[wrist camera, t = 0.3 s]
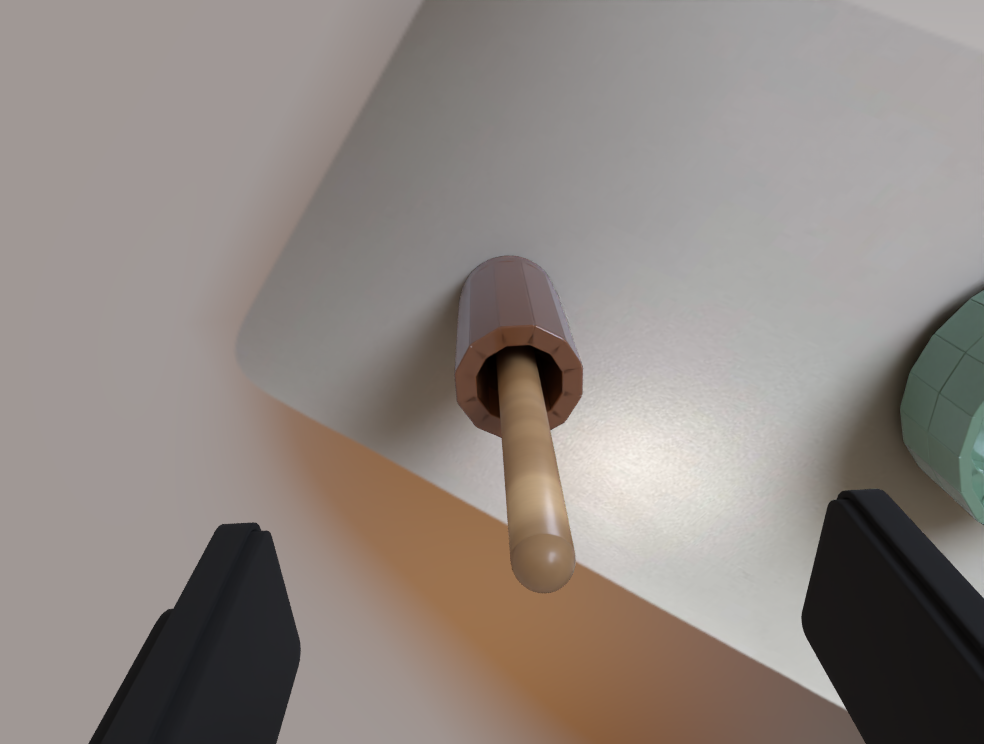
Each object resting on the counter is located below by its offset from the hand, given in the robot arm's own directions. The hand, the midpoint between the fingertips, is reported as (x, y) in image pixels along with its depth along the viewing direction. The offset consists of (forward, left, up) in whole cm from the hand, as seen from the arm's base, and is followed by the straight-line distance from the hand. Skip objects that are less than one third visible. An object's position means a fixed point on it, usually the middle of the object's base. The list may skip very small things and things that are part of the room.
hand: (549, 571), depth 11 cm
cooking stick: (+3, 0, -21) cm, 21 cm away
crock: (+3, 0, -22) cm, 22 cm away
